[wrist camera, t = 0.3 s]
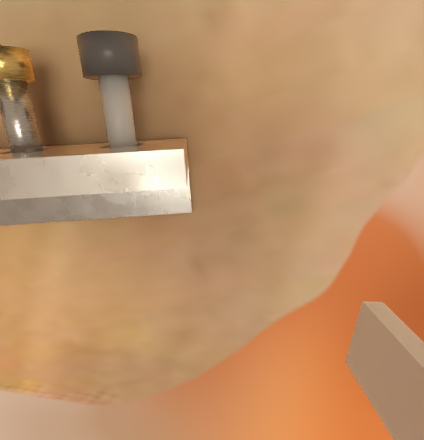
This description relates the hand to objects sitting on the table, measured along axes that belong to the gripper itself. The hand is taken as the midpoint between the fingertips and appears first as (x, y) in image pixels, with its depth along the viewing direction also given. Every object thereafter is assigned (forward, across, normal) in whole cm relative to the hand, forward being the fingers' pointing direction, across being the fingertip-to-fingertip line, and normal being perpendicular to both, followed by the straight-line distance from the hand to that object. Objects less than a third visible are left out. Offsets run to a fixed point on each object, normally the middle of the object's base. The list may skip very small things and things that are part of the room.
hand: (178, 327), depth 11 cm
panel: (+26, -15, -2) cm, 30 cm away
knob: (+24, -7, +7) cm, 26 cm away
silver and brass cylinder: (+23, -16, +6) cm, 29 cm away
